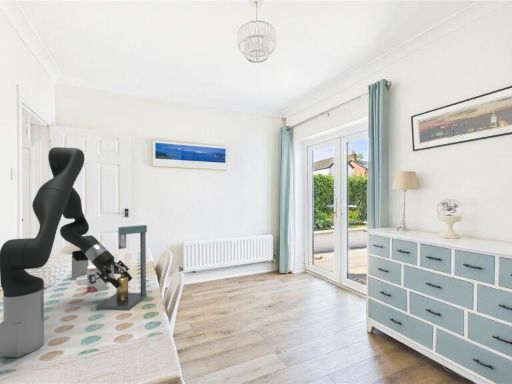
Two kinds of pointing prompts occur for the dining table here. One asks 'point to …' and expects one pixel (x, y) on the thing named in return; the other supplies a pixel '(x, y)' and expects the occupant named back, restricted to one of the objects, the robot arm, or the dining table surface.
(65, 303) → the dining table surface
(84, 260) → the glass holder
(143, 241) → the stand
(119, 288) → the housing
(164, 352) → the dining table surface
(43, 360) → the dining table surface
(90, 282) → the ink box
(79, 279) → the white brass knuckles
